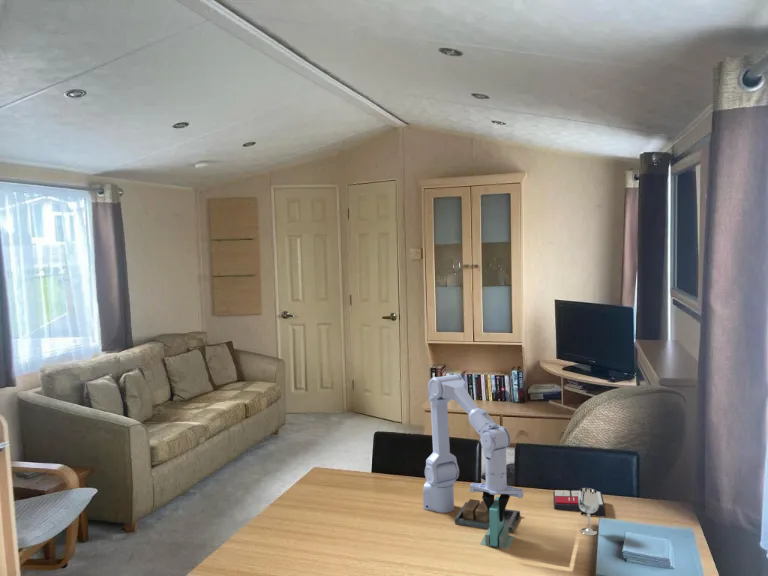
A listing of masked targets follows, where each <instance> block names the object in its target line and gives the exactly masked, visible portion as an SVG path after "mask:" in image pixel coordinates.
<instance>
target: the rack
mask: <svg viewBox="0 0 768 576" xmlns="http://www.w3.org/2000/svg"><path fill="white" fill-rule="evenodd" d="M467 503H468V501H465V503H464V504H463V505H462V507H461V508H460V510H459V511H458V512H457V514H456V515H455V517H454V524H455V525H458V526H464V527H465V526H466V527H472V528H476V529H477V528H478V529H485V530H488V529H489V527H490V520H488V522H481V521H476V520H468V519H463V509H464V507H465V506H466V504H467ZM520 518H521V510H514V509H508V508H505V512H504V526H505V525H509V534H511V533H514V530H515V528H516V526H517V523H518V522H519V520H520Z"/></svg>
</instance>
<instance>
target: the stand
mask: <svg viewBox="0 0 768 576" xmlns="http://www.w3.org/2000/svg"><path fill="white" fill-rule="evenodd" d="M514 539H515V536H514V535H510V532H509V525H505V526H504V528H503V530H502V532H501V534H500V536H499V544H498V546H491V545H490V527H489V529H487V530H486V533H485V534H484V536H483V538H482V539H481V541H480V544H479V545H480V546H487V547H493V548H500V549H505V550H510V548H511V545H512V544H513V540H514Z"/></svg>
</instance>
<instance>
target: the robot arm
mask: <svg viewBox="0 0 768 576" xmlns="http://www.w3.org/2000/svg"><path fill="white" fill-rule="evenodd" d="M427 390H428V391H427V392H428V393H427V394H428V401H429V402H430V416H431V417H430V419H431V436H432V453H431V454H430V455H429V456H428V457H427V458H426V460H425V467H424V476H425V480H426V481H425V483H424V485H423V489H422V502H423V503H422V508H423V510H425V511H432V512H437V513H442V514H444V513H451V512H453V511H454V509H455V494H454V493H455V489H454V487H455V486H454V485H455V483H456V481H457V479H458V478H459V476H460V468H459V464H458V461H457V457H456V455H454V454H453V453H451V452H450V451H451V449H450V448H451V446H450V432H449V431H450V430H449V413H448V403H449V402H451V400H454V401H455V402H456V403H457V404H458V405H459V406H460V407H461V408H462V410H463V411H464V412H465V413H466V414H467V415H468V422H469V424H470V425H471V427H472V428H473V429H474V430H475V432H476V433H477V435H479V437H480V439H479V442H480V444H481V447H482V449H483V450H482V453H483V455H484V457H485V458H484V459H485V461H484V462H485V465H484V466H485V482H484V483H483V482H481V483H480V482H478V483H477V482H471V483H470V484H469V492H470V493H474V492H476V493H482V496H481V498H482V501H484V502H485V504H486V506H487V509H488V511H489V509H490V507H491V506H492V504H493V502H494V500H495V496H497V495H499V496H498V497H499V499H498V501H499V509H500V514H499V518H500V522H502V521H503V519H504V512H505V509H507V504H508V503H509V500H510V498H511V497H516V498H517V499H523V497H524V489H523V488H518V487H515V486H511V485H508V483H507V480H508V479H507V448H508V447H509V446H510V444H511V436H510V433H509V431H508V429H507V427H505V426H501V425H500V424H497V423H496V421H494V419H493V418H492V417H491V416H490V415H489V413H488V411H487V410H486V409H484V408H479V406H477V404H476V402H475V401H474V400H473V398H472V396H471V395H470V394H469V392H468V391H467V385H466V380H464V379H463V376H461V374H459V373H455V374H450V375H445V376H444V375H443V376H434V377H431V378H430V380H429V381H428V382H427Z"/></svg>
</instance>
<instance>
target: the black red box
mask: <svg viewBox="0 0 768 576" xmlns="http://www.w3.org/2000/svg"><path fill="white" fill-rule="evenodd" d="M579 491H580V490H565V489H564V490H563V489H562V490H561V489H560V490H559V489H556V490H554V491H553V492H552V494H553V509H554V510H555V511H556V510H557V511H558V510H559V511H570V512H580V515H583V514H585V516H587V514H588V513H585V512H583V511H582V510H581V509H580V508H579V506H578V496H579ZM597 494H598V499H599V508H598V510H597V511H596V512H594V513H591V514H590V516H592V515H596V516H595V517H606V505H605V502H604V497H603V494H602V492H601V491H597Z"/></svg>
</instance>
